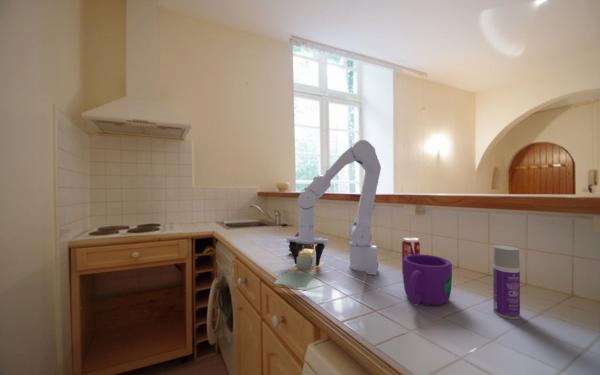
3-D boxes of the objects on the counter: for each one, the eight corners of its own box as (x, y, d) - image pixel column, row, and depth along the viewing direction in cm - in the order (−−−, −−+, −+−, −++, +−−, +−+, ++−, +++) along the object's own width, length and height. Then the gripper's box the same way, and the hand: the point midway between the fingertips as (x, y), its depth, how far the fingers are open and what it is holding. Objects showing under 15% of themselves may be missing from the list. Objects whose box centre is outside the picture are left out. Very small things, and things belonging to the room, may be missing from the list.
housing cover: (315, 252, 93) (315, 249, 93) (309, 257, 86) (309, 254, 86) (304, 251, 94) (304, 248, 94) (298, 256, 88) (298, 253, 88)
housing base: (316, 263, 93) (316, 252, 93) (310, 270, 86) (310, 258, 86) (303, 262, 95) (303, 251, 95) (296, 268, 87) (296, 257, 87)
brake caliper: (281, 252, 103) (290, 226, 110) (292, 263, 111) (300, 238, 117) (306, 256, 98) (314, 228, 104) (316, 267, 106) (323, 240, 112)
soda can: (399, 276, 82) (399, 238, 82) (405, 272, 86) (405, 236, 86) (416, 280, 79) (416, 241, 79) (422, 275, 83) (422, 238, 83)
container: (512, 321, 55) (512, 251, 55) (488, 311, 59) (488, 246, 59) (524, 316, 57) (524, 248, 57) (500, 307, 61) (500, 244, 61)
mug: (411, 286, 74) (411, 251, 74) (456, 297, 67) (456, 258, 67) (386, 307, 62) (385, 265, 61) (438, 324, 54) (438, 276, 54)
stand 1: (324, 265, 93) (324, 263, 93) (317, 275, 84) (317, 272, 84) (298, 263, 97) (298, 260, 97) (288, 272, 87) (288, 269, 87)
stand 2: (315, 278, 81) (315, 275, 81) (305, 290, 72) (305, 287, 72) (285, 275, 84) (285, 272, 84) (273, 286, 75) (273, 283, 75)
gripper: (329, 224, 92) (329, 262, 92) (291, 223, 96) (291, 259, 96) (325, 228, 85) (325, 268, 85) (284, 226, 90) (284, 265, 90)
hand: (307, 264), depth 90 cm, fingers open, 7 cm apart
